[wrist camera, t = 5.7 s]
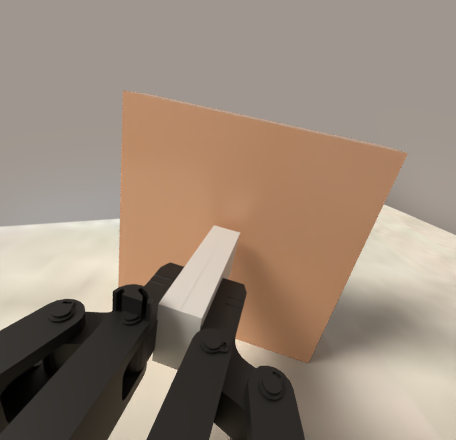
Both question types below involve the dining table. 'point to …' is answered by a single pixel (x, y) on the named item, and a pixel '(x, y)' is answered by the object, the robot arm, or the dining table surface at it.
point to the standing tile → (250, 209)
